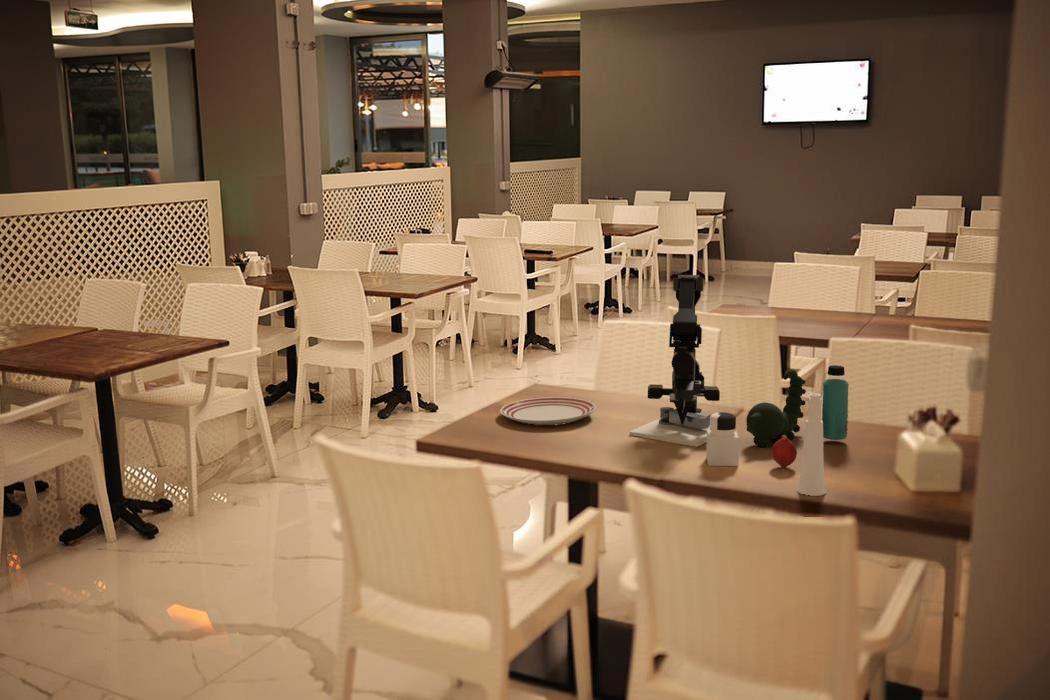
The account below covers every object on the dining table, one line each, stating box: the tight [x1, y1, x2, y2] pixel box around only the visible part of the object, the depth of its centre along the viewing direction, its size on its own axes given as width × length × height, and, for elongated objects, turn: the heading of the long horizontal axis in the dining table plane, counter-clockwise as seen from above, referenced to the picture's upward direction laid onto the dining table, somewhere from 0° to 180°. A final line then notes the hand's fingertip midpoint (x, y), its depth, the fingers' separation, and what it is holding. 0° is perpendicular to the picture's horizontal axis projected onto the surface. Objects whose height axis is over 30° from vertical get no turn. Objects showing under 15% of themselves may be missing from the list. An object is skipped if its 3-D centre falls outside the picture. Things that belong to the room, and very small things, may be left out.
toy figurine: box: [745, 368, 807, 448], centre depth 260 cm, size 9×19×25 cm
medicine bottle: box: [705, 411, 740, 467], centre depth 244 cm, size 7×7×12 cm
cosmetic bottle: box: [796, 393, 827, 497], centre depth 221 cm, size 6×6×22 cm
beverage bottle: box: [821, 365, 850, 441], centre depth 258 cm, size 6×7×20 cm
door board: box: [629, 412, 711, 448], centre depth 271 cm, size 18×20×4 cm
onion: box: [770, 435, 798, 469], centre depth 239 cm, size 6×6×8 cm
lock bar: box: [659, 406, 709, 430], centre depth 273 cm, size 15×4×3 cm, turn 42°
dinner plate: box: [499, 396, 597, 426], centre depth 289 cm, size 28×27×3 cm
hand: (682, 424), depth 269 cm, fingers closed
